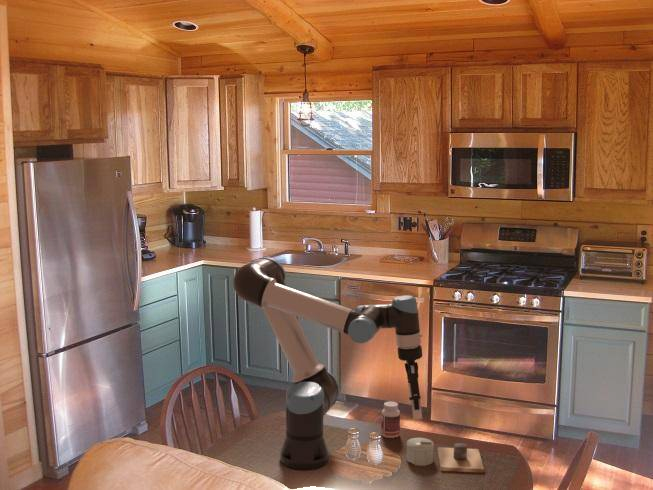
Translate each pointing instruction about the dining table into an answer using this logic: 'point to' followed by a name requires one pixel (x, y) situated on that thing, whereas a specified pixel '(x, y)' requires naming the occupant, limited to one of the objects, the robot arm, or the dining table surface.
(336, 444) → the dining table surface
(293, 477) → the dining table surface
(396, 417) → the pill bottle
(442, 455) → the stud board
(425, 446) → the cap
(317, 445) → the robot arm
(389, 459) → the dining table surface
